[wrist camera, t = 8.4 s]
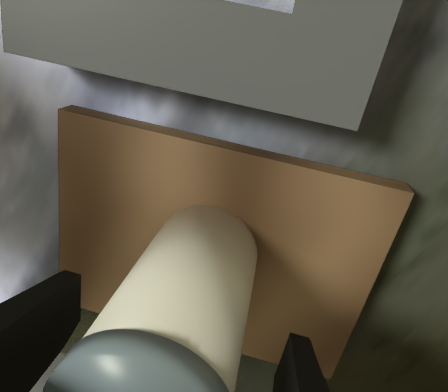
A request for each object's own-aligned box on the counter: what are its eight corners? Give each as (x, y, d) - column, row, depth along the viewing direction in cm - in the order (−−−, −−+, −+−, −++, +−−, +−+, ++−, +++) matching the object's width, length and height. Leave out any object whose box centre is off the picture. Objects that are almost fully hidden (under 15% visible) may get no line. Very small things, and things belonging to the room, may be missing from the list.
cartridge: (152, 280, 17) (46, 460, 10) (161, 191, 15) (36, 333, 8) (248, 304, 16) (213, 511, 9) (270, 216, 15) (246, 390, 7)
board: (70, 289, 19) (59, 302, 19) (71, 105, 15) (57, 108, 14) (328, 362, 18) (330, 379, 17) (406, 183, 14) (414, 193, 13)
